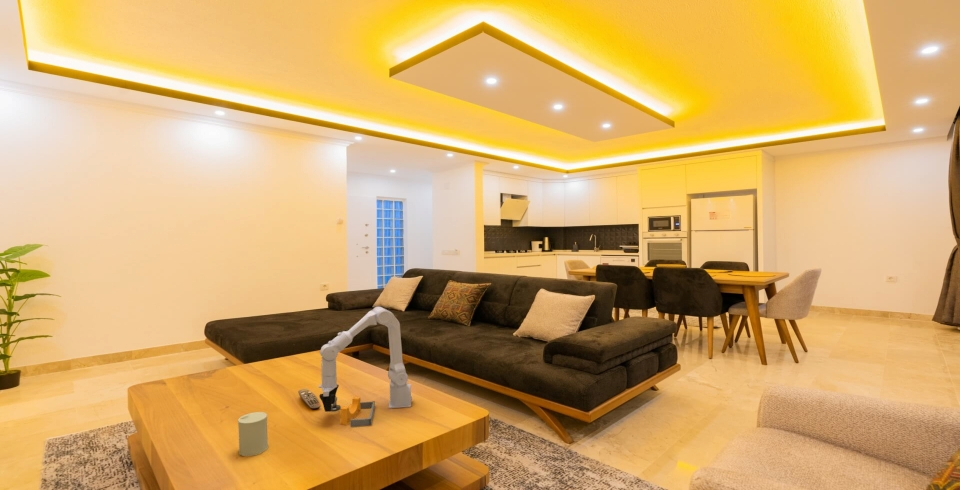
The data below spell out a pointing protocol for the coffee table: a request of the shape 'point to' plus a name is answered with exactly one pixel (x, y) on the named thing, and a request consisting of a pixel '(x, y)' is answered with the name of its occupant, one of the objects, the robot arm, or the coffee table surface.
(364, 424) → the u-shaped bracket
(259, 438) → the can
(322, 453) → the coffee table surface
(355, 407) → the pipe clamp
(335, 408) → the ball stud
